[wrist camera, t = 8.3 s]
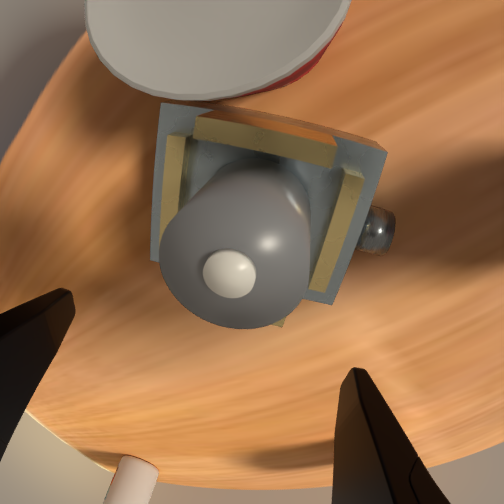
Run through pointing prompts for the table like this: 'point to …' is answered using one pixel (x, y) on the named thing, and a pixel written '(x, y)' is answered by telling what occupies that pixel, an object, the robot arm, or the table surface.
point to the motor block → (289, 156)
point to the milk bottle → (132, 482)
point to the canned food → (211, 43)
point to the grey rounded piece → (240, 246)
